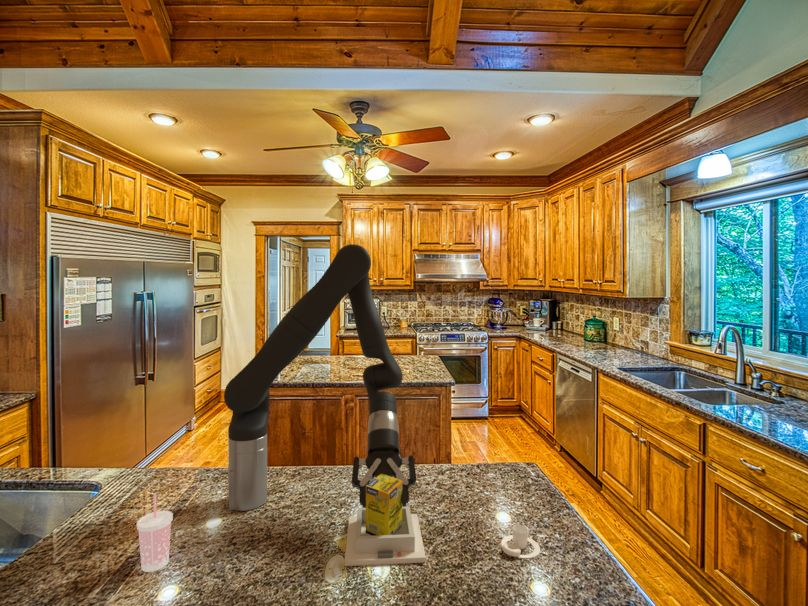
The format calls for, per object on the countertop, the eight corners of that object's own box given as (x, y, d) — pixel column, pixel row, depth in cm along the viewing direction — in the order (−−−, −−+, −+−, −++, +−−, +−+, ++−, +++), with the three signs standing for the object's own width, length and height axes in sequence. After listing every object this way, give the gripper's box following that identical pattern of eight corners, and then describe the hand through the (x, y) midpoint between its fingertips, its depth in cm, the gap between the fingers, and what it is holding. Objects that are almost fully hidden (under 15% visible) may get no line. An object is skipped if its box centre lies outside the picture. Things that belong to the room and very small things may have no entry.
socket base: (344, 566, 78) (344, 545, 78) (349, 520, 94) (349, 503, 94) (425, 562, 80) (425, 542, 80) (417, 517, 96) (417, 501, 95)
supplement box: (388, 543, 83) (389, 494, 82) (364, 533, 86) (364, 485, 85) (402, 526, 88) (403, 480, 87) (379, 517, 91) (380, 472, 90)
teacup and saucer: (509, 564, 80) (509, 543, 80) (490, 540, 88) (491, 522, 87) (548, 557, 82) (548, 537, 82) (526, 534, 90) (526, 516, 90)
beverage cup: (176, 551, 83) (176, 484, 83) (169, 570, 77) (168, 498, 77) (142, 557, 81) (141, 488, 81) (132, 577, 75) (131, 503, 75)
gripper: (353, 427, 94) (350, 501, 82) (413, 426, 95) (419, 499, 83) (354, 441, 99) (351, 513, 88) (411, 440, 100) (416, 510, 89)
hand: (384, 506), depth 86 cm, fingers closed on supplement box, 8 cm apart
